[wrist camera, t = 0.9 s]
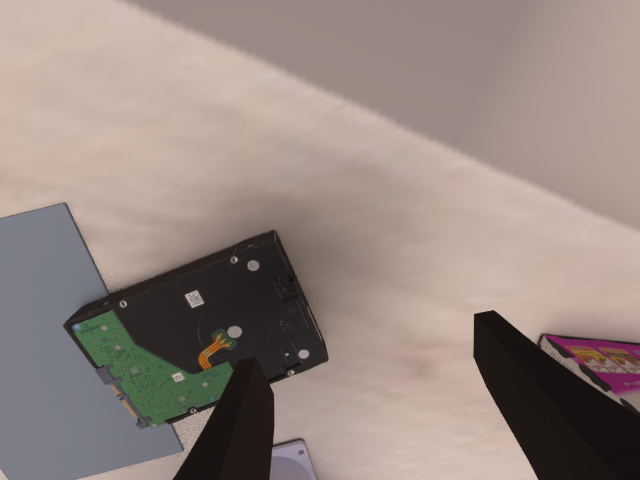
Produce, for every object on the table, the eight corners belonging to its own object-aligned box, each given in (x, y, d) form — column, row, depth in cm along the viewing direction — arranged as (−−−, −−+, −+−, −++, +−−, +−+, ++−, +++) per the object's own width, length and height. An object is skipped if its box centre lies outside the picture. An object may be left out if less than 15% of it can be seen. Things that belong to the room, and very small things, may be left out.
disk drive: (273, 224, 25) (78, 305, 25) (274, 235, 22) (56, 326, 22) (326, 339, 28) (155, 410, 28) (332, 361, 26) (142, 440, 26)
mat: (183, 449, 30) (183, 451, 30) (20, 492, 30) (19, 494, 30) (65, 202, 23) (63, 203, 23) (-152, 255, 23) (-155, 256, 22)
